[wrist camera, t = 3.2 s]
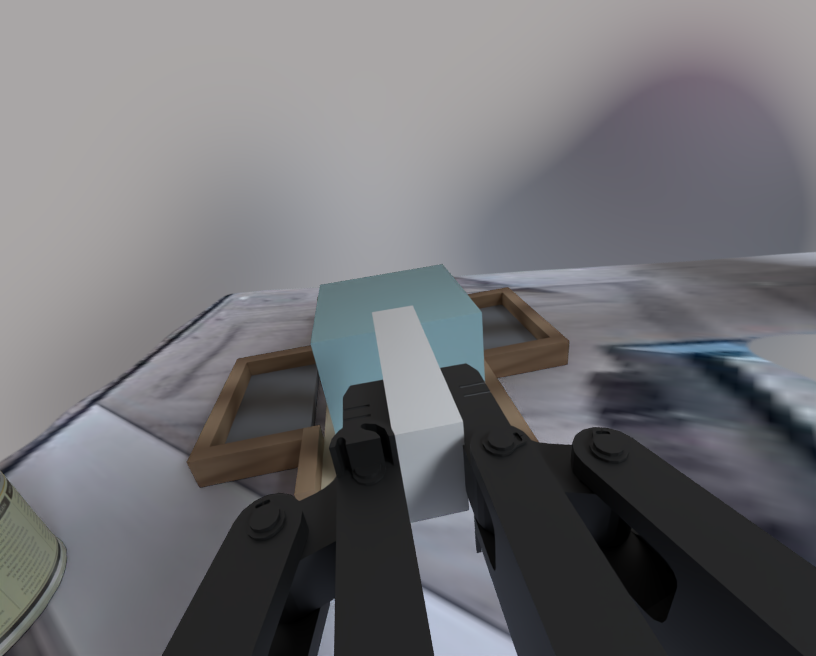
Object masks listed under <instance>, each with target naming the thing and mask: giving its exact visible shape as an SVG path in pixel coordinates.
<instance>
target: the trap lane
mask: <svg viewBox="0 0 816 656" xmlns="http://www.w3.org/2000/svg"><path fill="white" fill-rule="evenodd" d="M467 295H468V296H469V297H470V298H471V300H472V301H473V302H474V303H475V304H476V306H477V307H478V308H479V309H480V311H481V312H482V326H483V349H484V372H485V384H486V385H487V386H488V388H489V390H490V392H491V393H492V395H493V396H494V398H495V400H496V401H497V403H498V405H499V406H500V408H501V410H502V411H503V413H504V415H505V416H506V418H507V420H508V421H509V423H510V425H511V426H514V427H516V428H518V429H520V430H522V431H524V432H525V433H526V434H527V436H528V437H529V438H530V439H531V440H533V441H536V442H539V441H538V440H537V438H536V437H535V435H534V434H533V432H532V431H531V429H530V428H529V426H528V425H527V423H526V422H525V420H524V419H523V417H522V415H521V414H520V412H519V411H518V409H517V408H516V406H515V405H514V403H513V402H512V400H511V399H510V397H509V396H508V394H507V393H506V391H505V390H504V388H503V386H502V385H501V383H500V382H499V380H498V379H497V378H501V377H506V376H511V375H516V374H521V373H526V372H531V371H536V370H541V369H546V368H551V367H557V366H562V365H567V364H568V352H569V340H568V339H567V338H565V337H564V336H563V335H562V334H561V333H560V332H559V331H557V330H556V329H555V328H554V327H553V326H552V325H551V324H549V323H548V322H547V321H546V320H545V319H544V318H543V317H541V316H540V315H539V314H538V313H537V312H536V311H535V310H533V309H532V308H531V307H530V306H529V305H528V304H527V303H525V302H524V301H523V300H522V299H521V298H520V297H519V296H517V295H516V294H515V293H514V292H513V291H512V290H511V289H509V288H508V287H507V288H501V289H496V290H490V291H484V292H479V293H473V294H467ZM317 301H318V298H317ZM318 385H319V372H318V369H317V365H316V362H315V358H314V354H313V351H312V347H311V345H310V346H305V347H299V348H294V349H288V350H283V351H277V352H272V353H266V354H261V355H255V356H250V357H244V358H239V359H237V361H236V363H235V365H234V367H233V369H232V371H231V373H230V375H229V377H228V379H227V381H226V383H225V385H224V387H223V389H222V391H221V393H220V395H219V397H218V399H217V401H216V403H215V405H214V408H213V410H212V412H211V414H210V416H209V418H208V420H207V422H206V424H205V426H204V428H203V430H202V432H201V434H200V436H199V438H198V440H197V442H196V444H195V446H194V448H193V450H192V452H191V454H190V456H189V458H188V460H187V464H188V466H189V468H190V470H191V472H192V474H193V476H194V478H195V480H196V481H197V483H198V485H199V487H205V486H210V485H215V484H220V483H225V482H229V481H234V480H239V479H244V478H249V477H254V476H258V475H263V474H268V473H273V472H278V471H283V470H287V469H292V468H297V467H298V471H297V478H296V486H295V493H294V495H295V498H296V499H297V500H299V501H301V500H303V499H305V498H307V497H309V496H311V495H313V494H315V493H317V492H318V491H320V490H322V489H323V488H325V487H326V486H327V485H329V484H330V483H331V482H332V481H333V480H334V478H335V477H336V472H335V469H334V465H333V461H332V458H331V454H330V450H329V446H330V443H331V439H332V438H333V437H334V435H335V431H334V427H333V423H332V420H331V416H330V412H329V409H328V405H326V421H325V436H324V438H323V434H322V431H321V427H320V425H317V426H314V424H315V415H316V405H317V395H318Z"/></svg>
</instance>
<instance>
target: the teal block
mask: <svg viewBox="0 0 816 656" xmlns="http://www.w3.org/2000/svg"><path fill="white" fill-rule="evenodd" d="M412 305H413V307H414V309H415V312H416V314H417V316H418V319H419V321H420V323H421V326H422V328H423V330H424V333H425V335H426V337H427V339H428V342H429V344H430V346H431V349H432V351H433V353H434V356H435V358H436V360H437V363H438V365H439V367H440V368H442V367H448V366H453V365H459V364H464V363H467V364H468V365H470V366H471V367H473V368H475V369H476V370H478V371H479V373H480V375H481V376H482V378H483V380H484V381H485V372H484V349H483V326H482V312H481V311H480V309H479V308H478V307H477V306H476V304H475V303H474V302H473V301H472V300H471V298H470V297H469V296H468V295H467V293H466V292H465V291H464V290H463V289H462V287H461V286H460V285H459V284H458V282H457V281H456V280H455V279H454V278H453V276H452V275H451V274H450V273H449V272H448V270H447V269H446V268H445V267H444V265H443V264H440V265H435V266H429V267H423V268H417V269H412V270H405V271H399V272H394V273H387V274H382V275H376V276H370V277H364V278H358V279H353V280H346V281H340V282H335V283H329V284H323V285H320V289H319V295H318V301H317V307H316V313H315V319H314V325H313V331H312V337H311V347H312V351H313V354H314V358H315V362H316V365H317V369H318V372H319V376H320V380H321V383H322V387H323V391H324V394H325V398H326V401H327V405H328V409H329V412H330V416H331V420H332V423H333V427H334V431H335V434H336V433H337V432H338V431H339V430H340V429H342V428H343V396H344V394H345V393H346V391H347V390H348V388H349V386H350V385H356V384H361V383H367V382H372V381H378V380H383V375H382V369H381V363H380V357H379V352H378V346H377V340H376V334H375V328H374V322H373V316H372V312H376V311H382V310H388V309H394V308H400V307H406V306H412Z"/></svg>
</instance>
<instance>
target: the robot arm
mask: <svg viewBox="0 0 816 656" xmlns="http://www.w3.org/2000/svg"><path fill="white" fill-rule="evenodd" d="M372 316H373V322H374V328H375V334H376V340H377V346H378V352H379V357H380V363H381V369H382V375H383V380H378V381H372V382H367V383H361V384H356V385H350V386H349V388H348V390H347V391H346V393H345V394H344V396H343V428H342V429H340V430H339V431H338V432H337V433H336V434H335V435H334V437H333V438H332V439H331V443H330V446H329V450H330V454H331V458H332V461H333V465H334V469H335V472H336V477H335V478H334V480H333V481H332V482H331V483H330V484H329V485H327V486H326V487H325V488H323V489H322V490H320V491H318V492H317V493H315V494H313V495H311V496H309V497H307V498H305V499H303V500H301V501H299V500H297V499H296V498H295V497H293V496H292V495H289V494H284V493H277V494H271V495H267V496H265V497H262V498H260V499H258V500H256V501H254V502H253V503H252V504H250V505H249V506H248V507H247V508H245V509H244V510H243V511H242V512H241V514H240V515H239V516H238V518H237V519H236V520H235V522H234V523H233V525H232V527H231V529H230V531H229V532H228V534H227V536H226V538H225V540H224V542H223V544H222V545H221V547H220V549H219V551H218V553H217V555H216V556H215V558H214V560H213V562H212V564H211V566H210V568H209V569H208V571H207V573H206V575H205V577H204V579H203V580H202V582H201V584H200V586H199V588H198V590H197V592H196V593H195V595H194V597H193V599H192V601H191V603H190V604H189V606H188V608H187V610H186V612H185V614H184V616H183V617H182V619H181V621H180V623H179V625H178V627H177V628H176V630H175V632H174V634H173V636H172V638H171V640H170V641H169V643H168V645H167V647H166V649H165V651H164V652H163V654H162V656H317V655H318V651H319V646H320V642H321V638H322V634H323V630H324V626H325V622H326V618H327V614H328V610H329V606H330V601H331V600H333V599H334V598H335V634H334V656H434V651H433V646H432V640H431V635H430V629H429V624H428V618H427V612H426V607H425V601H424V596H423V590H422V585H421V579H420V574H419V568H418V562H417V557H416V551H415V546H414V540H413V535H412V529H411V524H410V523H412V522H417V521H421V520H426V519H431V518H435V517H440V516H445V515H449V514H454V513H458V512H463V511H468V510H469V503H468V498H469V501H470V504H471V507H472V510H473V512H474V522H475V539H476V550H477V553H479V552H481V549H482V552H483V555H484V558H485V561H486V564H487V567H488V570H489V573H490V576H491V578H492V581H493V584H494V587H495V590H496V593H497V596H498V599H499V602H500V605H501V608H502V611H503V614H504V617H505V620H506V623H507V626H508V629H509V632H510V635H511V638H512V640H513V643H514V646H515V649H516V652H517V655H518V656H816V567H815V566H813V565H812V564H810V563H809V562H807V561H806V560H805V559H803V558H802V557H800V556H799V555H797V554H796V553H795V552H793V551H792V550H790V549H789V548H788V547H786V546H785V545H783V544H782V543H780V542H779V541H778V540H776V539H775V538H773V537H772V536H771V535H769V534H768V533H766V532H765V531H763V530H762V529H761V528H759V527H758V526H756V525H755V524H754V523H752V522H751V521H749V520H748V519H746V518H745V517H744V516H742V515H741V514H739V513H738V512H737V511H735V510H734V509H732V508H731V507H729V506H728V505H727V504H725V503H724V502H722V501H721V500H720V499H718V498H717V497H715V496H714V495H712V494H711V493H710V492H708V491H707V490H705V489H704V488H703V487H701V486H700V485H698V484H697V483H695V482H694V481H693V480H691V479H690V478H688V477H687V476H686V475H684V474H683V473H681V472H680V471H678V470H677V469H676V468H674V467H673V466H671V465H670V464H668V463H667V462H666V461H664V460H663V459H661V458H660V457H659V456H657V455H656V454H654V453H653V452H651V451H650V450H649V449H647V448H646V447H644V446H643V445H642V444H640V443H639V442H637V441H636V440H634V439H633V438H631V437H630V436H628V435H626V434H624V433H622V432H620V431H617V430H613V429H609V428H600V427H593V428H588V429H584V430H582V431H581V432H579V433H578V434H576V435H575V437H574V440H573V443H572V445H563V444H547V443H539V442H536V441H533V440H531V439H530V438H529V437H528V436H527V434H526V433H525V432H524V431H522V430H520V429H518V428H516V427H514V426H511V425H510V423H509V421H508V420H507V418H506V416H505V415H504V413H503V411H502V410H501V408H500V406H499V405H498V403H497V401H496V400H495V398H494V396H493V395H492V393H491V392H490V390H489V388H488V386H487V385H486V384H485V381H484V380H483V378H482V376H481V375H480V373H479V371H478V370H476V369H475V368H473V367H471V366H470V365H468V364H467V363H464V364H459V365H453V366H448V367H442V368H440V367H439V365H438V363H437V360H436V358H435V356H434V353H433V351H432V349H431V346H430V344H429V342H428V339H427V337H426V335H425V333H424V330H423V328H422V326H421V323H420V321H419V319H418V316H417V314H416V312H415V309H414V307H413V305H412V306H406V307H400V308H394V309H388V310H382V311H376V312H372Z"/></svg>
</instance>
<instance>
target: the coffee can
mask: <svg viewBox="0 0 816 656" xmlns="http://www.w3.org/2000/svg"><path fill="white" fill-rule="evenodd" d="M66 561H67V557H66V548H65V546H64V545H63V543H62V541H61V540H60V539H58V538H57V537H55V536H54V534H52V533H51V531H50V530H49V529H48V528H47V527H46V525H45V524H44V523H43V522H42V521H41V519H40V518H39V517H38V516H37V515H36V513H35V512H34V511H33V510H32V509H31V507H30V506H29V505H28V504H27V502H26V501H25V500H24V499H23V498H22V497H21V495H20V494H19V493H18V492H17V490H16V489H15V488H14V487H13V486H12V484H11V483H10V482H9V481H8V480H7V478H6V477H5V475H4V474H3V473H2V472H1V471H0V656H3V655H4V654H5V653H6V652H7V651H8V650H9V649H10V648H11V647H12V646H13V645H14V644H15V643H16V642H17V641H18V640H19V639H20V638H21V636H22V635H23V634H24V633H25V632H26V631H27V630H28V629H29V628H30V626H31V625H32V624H33V623H34V622H35V620H36V619H37V618H38V617H39V616H40V614H41V613H42V612H43V610H44V609H45V608H46V606H47V604H48V602H49V601H50V599H51V597H52V596H53V595H54V593H55V591H56V590H57V588H58V586H59V584H60V582H61V579H62V577H63V574H64V571H65V567H66Z"/></svg>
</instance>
